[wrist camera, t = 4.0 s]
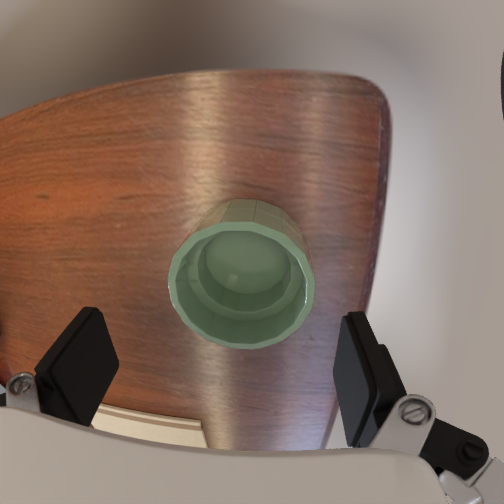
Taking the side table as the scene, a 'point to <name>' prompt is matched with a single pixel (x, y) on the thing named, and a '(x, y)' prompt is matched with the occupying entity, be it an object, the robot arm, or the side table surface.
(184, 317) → the bowl
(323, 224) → the side table surface
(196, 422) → the cloth
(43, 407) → the robot arm
